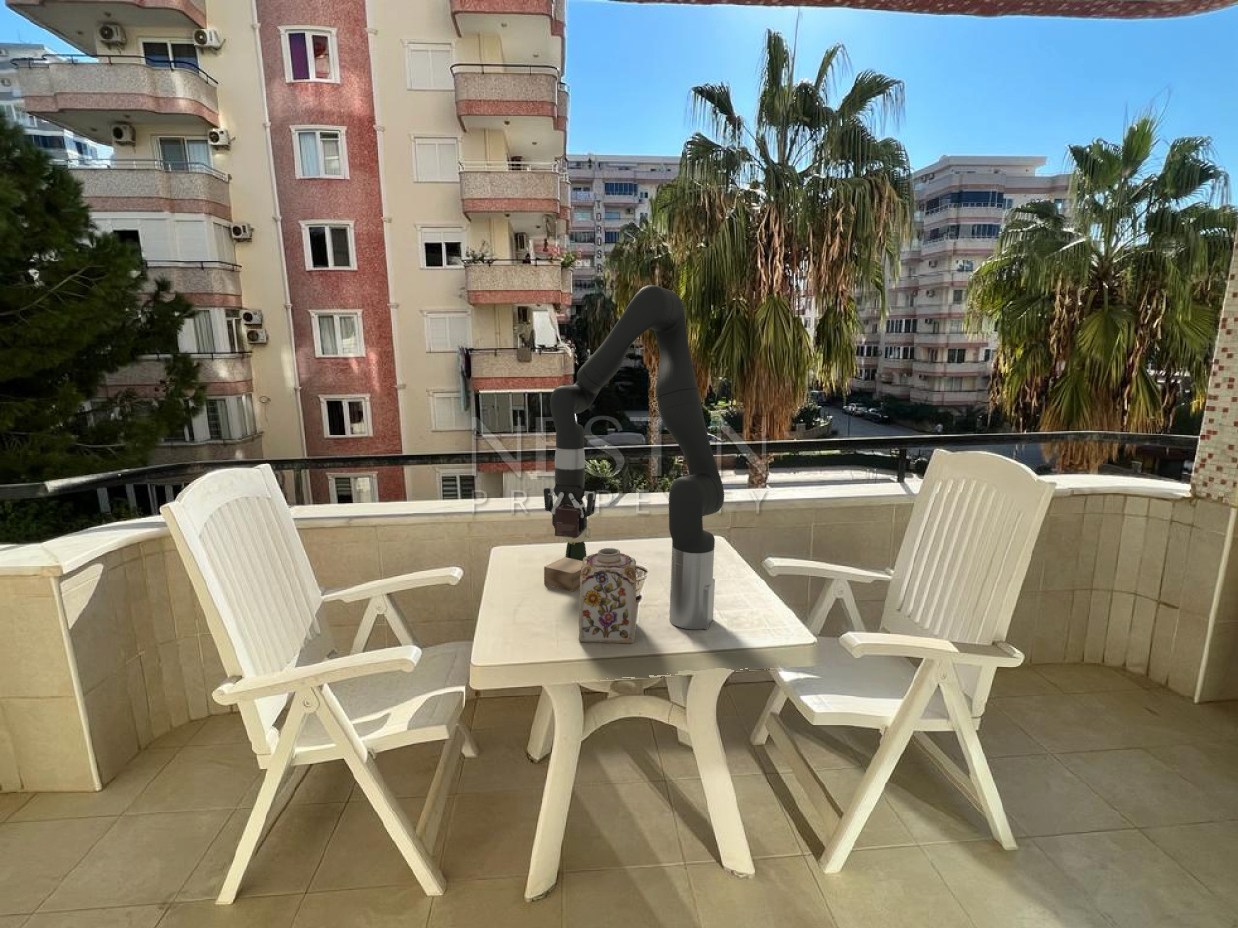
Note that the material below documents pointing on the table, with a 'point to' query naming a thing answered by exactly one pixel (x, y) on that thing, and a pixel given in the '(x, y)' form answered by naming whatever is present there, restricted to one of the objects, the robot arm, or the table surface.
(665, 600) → the table surface
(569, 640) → the table surface
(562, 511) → the box
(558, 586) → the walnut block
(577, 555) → the character mug
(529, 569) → the table surface
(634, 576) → the decorative jar
